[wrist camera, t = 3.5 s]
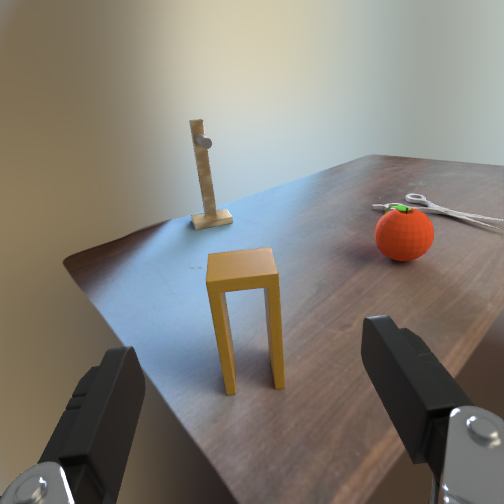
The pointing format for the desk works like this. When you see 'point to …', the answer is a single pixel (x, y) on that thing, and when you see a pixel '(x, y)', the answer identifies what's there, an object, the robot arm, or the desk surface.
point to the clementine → (404, 233)
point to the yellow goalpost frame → (243, 278)
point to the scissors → (434, 209)
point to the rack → (205, 181)
